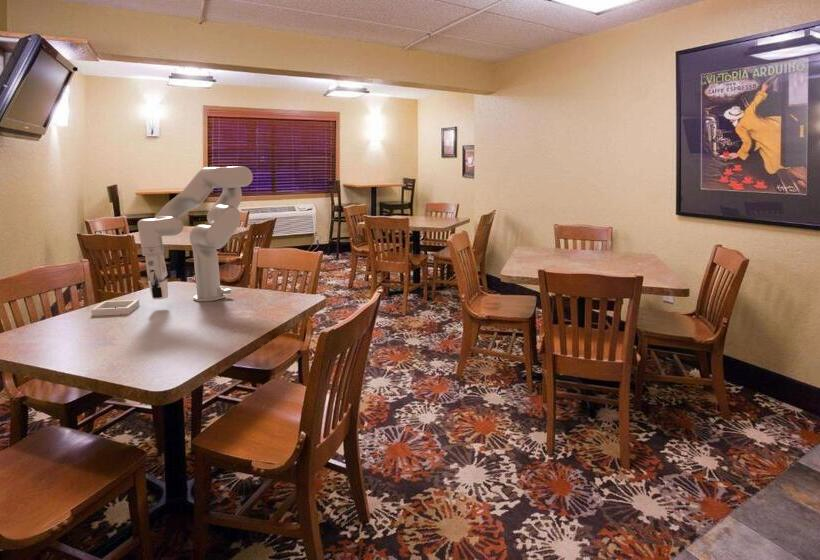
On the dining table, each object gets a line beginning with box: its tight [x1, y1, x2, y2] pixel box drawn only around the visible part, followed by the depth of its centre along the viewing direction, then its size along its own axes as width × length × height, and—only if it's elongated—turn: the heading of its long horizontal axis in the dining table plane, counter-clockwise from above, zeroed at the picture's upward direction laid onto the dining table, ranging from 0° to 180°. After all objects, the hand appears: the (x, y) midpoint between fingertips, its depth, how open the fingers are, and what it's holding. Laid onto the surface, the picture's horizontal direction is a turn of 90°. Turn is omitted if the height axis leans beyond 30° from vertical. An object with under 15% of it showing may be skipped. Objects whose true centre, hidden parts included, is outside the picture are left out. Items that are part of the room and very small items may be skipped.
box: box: [90, 299, 140, 317], centre depth 193 cm, size 13×13×2 cm
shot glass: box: [147, 278, 169, 300], centre depth 195 cm, size 7×7×7 cm
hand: (160, 294), depth 196 cm, fingers closed on shot glass, 6 cm apart
